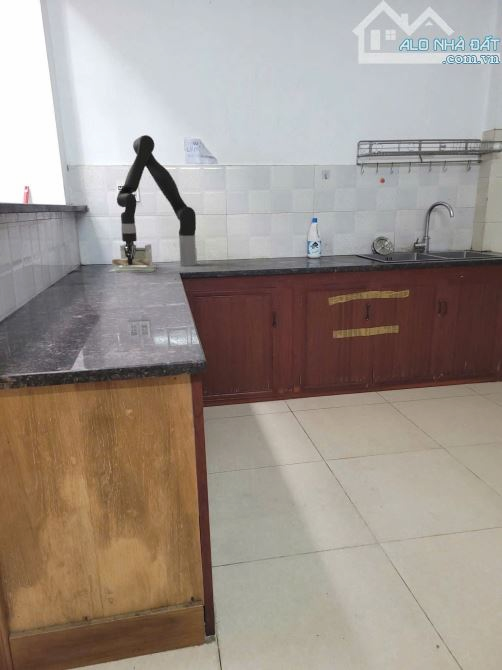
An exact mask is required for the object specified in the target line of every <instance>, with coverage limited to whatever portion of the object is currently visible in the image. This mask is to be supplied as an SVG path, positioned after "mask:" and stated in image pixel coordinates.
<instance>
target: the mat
mask: <svg viewBox="0 0 502 670" xmlns="http://www.w3.org/2000/svg"><path fill="white" fill-rule="evenodd" d="M154 270H155V271H156V268H154V269H118V268H113V269H109V270H108V271H107V273H152V272H154Z"/></svg>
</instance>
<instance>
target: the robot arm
mask: <svg viewBox="0 0 502 670" xmlns="http://www.w3.org/2000/svg"><path fill="white" fill-rule="evenodd" d="M132 148H133V151H134V153H135V155H136V156H135V158H134V161H133V163H132V164H131V167H130V168H129V171H128V172H127V176H126V178H125V181H124V184H123V186H122V187H121V189H120V190H119V192H118V193H117V195H116V203H117V205H118V206H119V207H121V208H125V209H124V212H121V214H120V219H121V220H120V221H121V228H120V229H121V238H122V239H121V241H122V242H125V244H124V245H125V247H124V251H125V255H126V257H127V258H128V265H132V259H134V257H135V253H136V248H137V244H135V242H137V241H138V239H137V227H136V226H137V225H136V218H135V214H136V209H137V198H136V196H135V195H134V194H133V193H135V192H137V191H138V189H139V185H140V182H141V180H142V176H143V173H144V170H145V168H146V169H147V170H148V172H149V174H150V175H151V177H152V178H153V180H154V182H155V183H156V185H157V187H158V188H159V190H160V191H161V193H162V194H163V196H164V197H165V199H166V200H167V201H168V203H169V205H170V206H171V208H172V210H173V213H174V214H175V216H176V218H177V220H178V221H179V230H178V238H179V239H178V240H179V257H180V259H179V262H180V266H184V267H192V266H197V265H198V261H197V260H198V258H197V255H198V254H197V246H196V229H197V221H196V220H197V217H196V212H195V210H194V209H193V208H192V207H190V206H188V205H187V204H186V203H185V201H184V200H183V198H182V197H181V194H180V191H179V188H178V185H177V184H176V181H175V179H174V178H173V177H172V174H171V173H170V171H168V169H166V168H165V167H164V166H163V165H162V164H161V163H160V162H158V160H157V159H156V158H155V156H154V154H153V151H154V149H155V142H154V139H153V138H152V137H151V135H147V134H145V135H141V136H139V137H138V138H136V139H135V140H134V141H133V144H132Z"/></svg>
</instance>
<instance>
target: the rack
mask: <svg viewBox="0 0 502 670" xmlns="http://www.w3.org/2000/svg"><path fill="white" fill-rule="evenodd" d="M125 245H126V244H122V245H121V244H120V246H119V248H120V259H128V258H127V257H126V255H125V251H124V247H125ZM144 248H145V254H146V259H150V265H118V267H117V269H156V268H157V264H153V256H152V254H153V253H152V250H153V249H152V244H149V243H148V244H145V245H144Z"/></svg>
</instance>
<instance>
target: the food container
mask: <svg viewBox="0 0 502 670" xmlns="http://www.w3.org/2000/svg"><path fill="white" fill-rule="evenodd" d="M134 259H146V254H145V247H136V253H135V257H134Z"/></svg>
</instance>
